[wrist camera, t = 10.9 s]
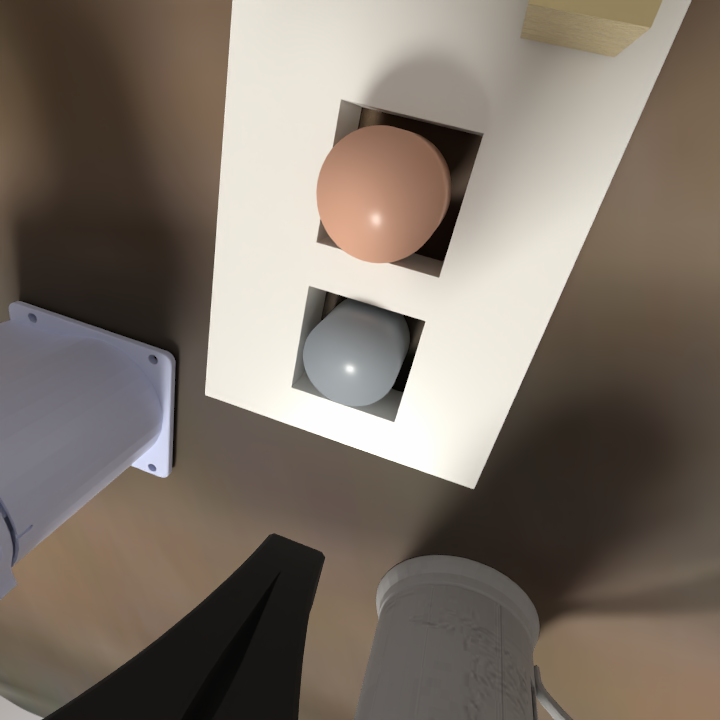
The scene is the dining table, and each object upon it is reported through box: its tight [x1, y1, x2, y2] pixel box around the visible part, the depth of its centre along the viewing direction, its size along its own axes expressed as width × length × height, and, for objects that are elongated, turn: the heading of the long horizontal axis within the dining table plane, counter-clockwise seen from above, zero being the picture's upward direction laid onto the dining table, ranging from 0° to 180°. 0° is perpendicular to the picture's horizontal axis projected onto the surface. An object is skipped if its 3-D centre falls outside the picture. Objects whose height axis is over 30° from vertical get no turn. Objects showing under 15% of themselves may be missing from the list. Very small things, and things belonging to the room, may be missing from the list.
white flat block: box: [205, 0, 691, 489], centre depth 15 cm, size 12×20×3 cm, turn 167°
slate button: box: [303, 298, 410, 406], centre depth 18 cm, size 4×4×3 cm
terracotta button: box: [316, 125, 452, 263], centre depth 14 cm, size 4×4×3 cm
